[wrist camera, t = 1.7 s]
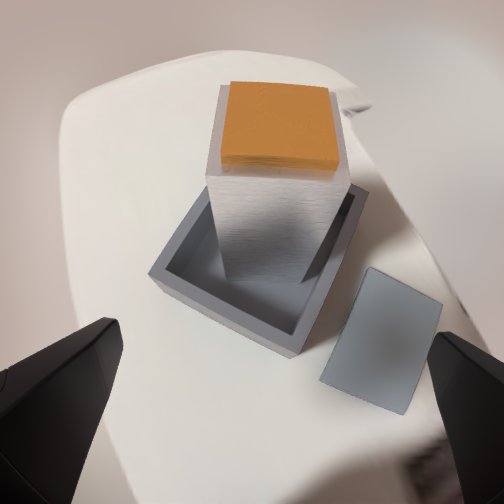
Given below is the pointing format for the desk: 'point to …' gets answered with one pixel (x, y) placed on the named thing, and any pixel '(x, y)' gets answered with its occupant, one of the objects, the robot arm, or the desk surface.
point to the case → (253, 293)
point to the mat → (383, 343)
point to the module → (275, 177)
